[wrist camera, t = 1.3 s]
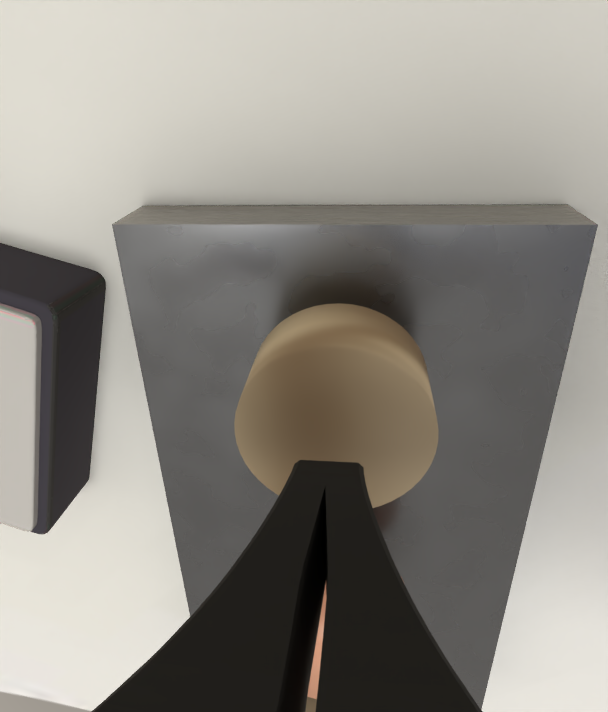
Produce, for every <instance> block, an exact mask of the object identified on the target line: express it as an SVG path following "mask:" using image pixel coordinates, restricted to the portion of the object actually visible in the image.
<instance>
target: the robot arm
mask: <svg viewBox="0 0 608 712" xmlns="http://www.w3.org/2000/svg"><path fill="white" fill-rule="evenodd" d="M325 584H326V596H327V599H326V610H325V621H324V632H323V642H322V652H321V662H320V673H319V683H318V692H317V702H316V711H315V712H482V711H481V709H480V708H479V706H478V705H477V703H476V702H475V700H474V699H473V697H472V696H471V694H470V693H469V692H468V690H467V689H466V687H465V686H464V684H463V683H462V681H461V680H460V678H459V677H458V675H457V674H456V672H455V671H454V669H453V668H452V666H451V665H450V663H449V662H448V660H447V659H446V657H445V655H444V654H443V652H442V650H441V649H440V647H439V646H438V644H437V642H436V641H435V639H434V637H433V636H432V634H431V632H430V631H429V629H428V627H427V625H426V624H425V622H424V620H423V618H422V616H421V615H420V613H419V611H418V609H417V608H416V606H415V604H414V602H413V600H412V598H411V596H410V594H409V592H408V590H407V588H406V586H405V584H404V582H403V580H402V578H401V576H400V574H399V572H398V570H397V568H396V566H395V563H394V561H393V559H392V557H391V554H390V552H389V550H388V547H387V545H386V542H385V540H384V537H383V535H382V532H381V530H380V527H379V525H378V522H377V519H376V517H375V514H374V511H373V508H372V504H371V501H370V498H369V494H368V491H367V487H366V482H365V477H364V467H363V466H361V465H360V464H359V463H357V462H336V461H314V460H299V461H298V462H296V463H295V464H294V466H293V469H292V471H291V474H290V476H289V478H288V480H287V482H286V484H285V486H284V488H283V489H282V491H281V493H280V495H279V497H278V498H277V500H276V502H275V504H274V505H273V507H272V509H271V510H270V512H269V513H268V515H267V517H266V518H265V520H264V521H263V523H262V525H261V526H260V528H259V529H258V531H257V532H256V534H255V535H254V537H253V538H252V540H251V541H250V543H249V544H248V545H247V547H246V548H245V550H244V551H243V552H242V554H241V555H240V556H239V558H238V559H237V561H236V562H235V563H234V565H233V566H232V567H231V569H230V570H229V571H228V573H227V574H226V575H225V577H224V578H223V579H222V580H221V582H220V583H219V584H218V585H217V587H216V588H215V589H214V590H213V591H212V593H211V594H210V595H209V596H208V597H207V598H206V600H205V601H204V602H203V603H202V604H201V605H200V607H199V608H198V609H197V610H196V611H195V612H194V613H193V614H192V616H191V617H190V618H189V619H188V620H187V621H186V622H185V623H184V624H183V625H182V626H181V627H180V628H179V629H178V631H177V632H176V633H175V634H174V635H173V636H172V637H171V638H170V639H169V640H168V641H167V642H166V643H165V644H164V645H163V646H162V647H161V648H160V649H159V650H158V651H157V652H156V653H155V654H154V655H153V656H152V657H151V658H150V659H149V660H148V661H147V662H146V663H145V664H144V665H143V666H142V667H140V668H139V669H138V670H137V671H136V672H135V673H134V674H133V675H132V676H131V677H130V678H128V679H127V680H126V681H125V682H124V683H123V684H122V685H121V686H120V687H119V688H118V689H117V690H115V691H114V692H113V693H112V694H111V695H110V696H109V697H108V698H107V699H106V700H105V701H103V702H102V703H101V704H100V705H99V706H98V707H96V708H95V709H94V710H93V711H92V712H305V711H306V703H307V695H308V688H309V682H310V676H311V670H312V664H313V657H314V651H315V645H316V639H317V633H318V627H319V621H320V615H321V609H322V603H323V596H324V590H325Z"/></svg>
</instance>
